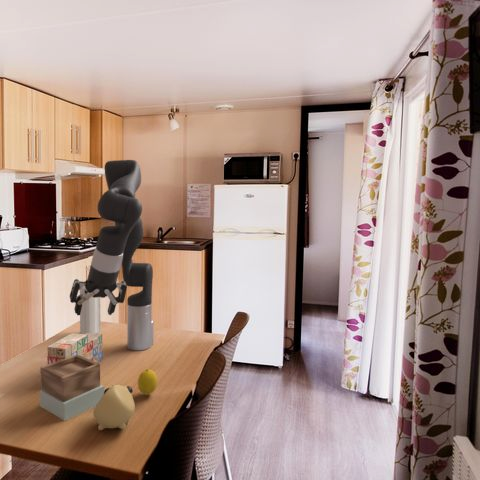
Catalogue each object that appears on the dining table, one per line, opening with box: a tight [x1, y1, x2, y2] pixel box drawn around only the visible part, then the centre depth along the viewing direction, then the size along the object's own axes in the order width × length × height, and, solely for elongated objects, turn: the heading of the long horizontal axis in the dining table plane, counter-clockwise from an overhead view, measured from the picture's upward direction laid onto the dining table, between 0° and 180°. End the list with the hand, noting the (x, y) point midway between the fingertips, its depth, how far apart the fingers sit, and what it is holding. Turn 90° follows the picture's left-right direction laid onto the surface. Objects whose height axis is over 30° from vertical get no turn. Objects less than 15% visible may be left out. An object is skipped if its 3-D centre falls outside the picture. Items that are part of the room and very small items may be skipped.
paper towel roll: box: [79, 286, 102, 334], centre depth 160 cm, size 7×6×21 cm
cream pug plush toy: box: [92, 384, 136, 431], centre depth 97 cm, size 10×12×11 cm
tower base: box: [39, 383, 105, 422], centre depth 106 cm, size 12×12×5 cm
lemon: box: [137, 368, 158, 396], centre depth 112 cm, size 6×6×8 cm
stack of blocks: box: [46, 332, 104, 365], centre depth 127 cm, size 21×6×12 cm, turn 170°
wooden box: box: [40, 355, 101, 402], centre depth 106 cm, size 11×11×6 cm
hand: (93, 313), depth 107 cm, fingers open, 8 cm apart
